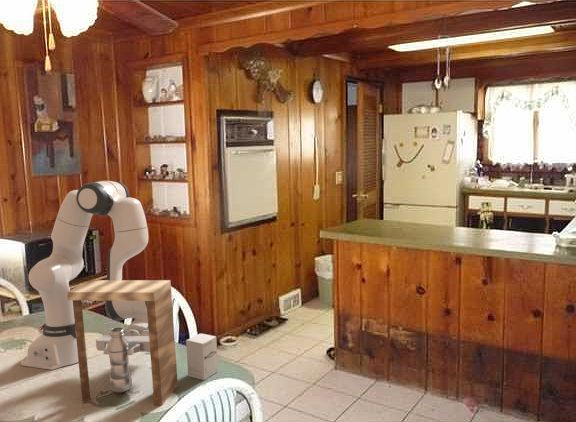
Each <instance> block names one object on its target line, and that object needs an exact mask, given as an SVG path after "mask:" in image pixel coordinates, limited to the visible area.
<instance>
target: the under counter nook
mask: <svg viewBox="0 0 576 422" xmlns="http://www.w3.org/2000/svg"><path fill="white" fill-rule="evenodd" d="M67 297H68V300H73V310H74V320H75V331H76V341H77V351H78V362H77V363H78V369H79V381H80V392H81V393H80V394H81V401H82V402H83V403H85V402H89V401H90V400H91V399H92V398H91V397H92V396H91V390H90V389H91V388H90V378H89V376H90V375H89V368H88V359H87V358H88V354H87V355H86V352H87V348H86V347H87V345H86V336H85V326H84V325H85V324H84V314H83V305H82V301H100V302H101V301H102V302H103V301H104V302H105V301H146V303H147V316H148V329H149V342H150V352H149V353H150V365H151V367H150V368H151V379H152V390H153V391H152V392H153V405H154V406H163V405H164V404H165V402H166V401H167V400H168V398H170V396H171V394H172V393H173V392H174V391H175V389H176V388H177V386H178V385H179V383H178V381H179V380H178V371H177V370H178V368H177V355H176V340H175V326H174V313H173V309H174V308H173V298H172V297H173V296H172V284H171V279H166V280H165V279H161V280H160V279H157V280H156V279H155V280H154V279H153V280H152V279H151V280H150V279H145V280H143V279H142V280H141V279H140V280H139V279H137V280H135V279H134V280H133V279H132V280H131V279H128V280H127V279H126V280H125V279H124V280H123V279H122V280H107V279H105V280H103V279H97V280H96V279H93V280H91V279H90V280H88V281H86V282H84V283H82V284H80V285H78V286H76V287H74V288H73V289H70V291H68V292H67Z"/></svg>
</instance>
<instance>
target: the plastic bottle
mask: <svg viewBox="0 0 576 422" xmlns="http://www.w3.org/2000/svg"><path fill="white" fill-rule="evenodd" d="M123 331H124V328H123V327H114V328H113V327H112V328H111V329H110V333H111V337H112V338H111V339H110V341H109V343H108V345H107V350H108V354H107V355H108V358H109V362H110V378H109V379H110V381H109V385H110V389H111V390H112V391H113V392H114V393H124V392H127V391H129V390H130V389H131V387H132V384H133V378H132V374H131V371H130V370H131V369H130V365H129V355H127V349H129V343H128V341H127V340H126V338H125V337H124V336H123V335H124V332H123Z"/></svg>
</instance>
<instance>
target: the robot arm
mask: <svg viewBox="0 0 576 422" xmlns="http://www.w3.org/2000/svg"><path fill="white" fill-rule="evenodd" d="M93 215H97V216H103V217H104V216H105V217H106V216H109V218H111V220H112V224H113V231H114V241H113V244H112V246H111V247H109V249H108V251H107V259H106V260H107V261H106V262H107V263H106V280H123V266H124V265H125V263H126V262H127V261H128V260H130V259H132V258H133V257H135V256H137V255H138V254H140V253H141V252H143V251H144V250H145V248H146V247H147V245H148V243H149V239H150V237H149V228H148V224H147V218H146V214H145V211H144V208H143V205H142V203H141V201H140V200H138V199H137V198H134V197H130V191H129V189H128V187H127V186H126V185H125V184H124V183H122V182H120V181H117V180H100V181H90V182H88V183H87V182H86V183H85V184H83V185H82V186H80V187H79V189H73V190H71V191H69V192H68V193H67V194H66V195H65V197H64V199H63V201H62V203H61V205H60V207H59V210H58V212H57V214H56V219H55V221H54V225H53V229H52V231H51V235H50V238H51V240H52V252H51V254H50V255H49V256H48V257H45V258H44V259H41V260H40V261H37V263H36V264H35V265H34V266H32V267H31V269H30V270H29V273H28V281H29V283H30V285H31V286H32V288H33V289H35V290H36V291H37V292H38V294H39V296H40V298H41V301H42V303H43V309H44V317H45V323H44V324H43V325H41V326H40V327H39V331H42V333H41V334H40V335H39V336H38V337H36V339H34V341H32V342H31V343H30V344H29V346H28V347H27V355H26V356H25V357H24V358H22V360H21V361H20V365H21V366H23V367H28V368H37V369H44V370H56V369H60V368H61V367H62V368H63V367H66V366H71V365H73V364H76V363H79V362H78V351H77V341H76V331H75V320H74V310H73V300H68V297H67V292H68V291H70V290H71V287H70V284H69V283H70V281H73V280H74V279H75V278H77V277H78V275H79V274H80V273H81V272H82V271H83V269H84V264H85V263H84V258H83V249H84V243H85V241H86V240H85V239H86V237H87V234H88V230H89V227H90V224H91V222H92V221H91V220H92V217H93ZM104 310H105V313H106V314H107V316H108V317H109V318H110V319H112V320H113V321H115V322H116V321H117V322H119V321H123V320H127V319H134V320H133V321H132V322H131V323H129V324H128V325H127V326H126V327H124V328H123V332H124V335H123V336H124V337H125V338H126V340H127V341H128V343H129V349H127V355H128V356H133V355H134V354H135V353H139V352H140V353H144V352H145V353H150V342H149V329H148V316H147V303H146V301H104ZM111 338H112V337H111V332H108V333H105V334H104V335H101V336H99V337H98V338H96V341H95V346H96V350H97V351H98V352H99V351H100V352H103V355H109V354H108V350H107V345H108V343H109V341H110V339H111ZM86 355H87V356H88V352H87V351H86Z"/></svg>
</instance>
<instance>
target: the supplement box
mask: <svg viewBox="0 0 576 422" xmlns="http://www.w3.org/2000/svg"><path fill="white" fill-rule="evenodd" d="M185 346H186V347H185V348H186V365H187V376H188V377H191V378H195V379H199V380H202V381H205V380H206V379H208V378H209V377H212V376H213V375H214V374H216V373H218V372H219V365H218V348H217V346H218V345H217V336H216V335H212V334H206V333H198V334H197V335H194V336H192V337H190V338H188V339H186V340H185Z"/></svg>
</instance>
